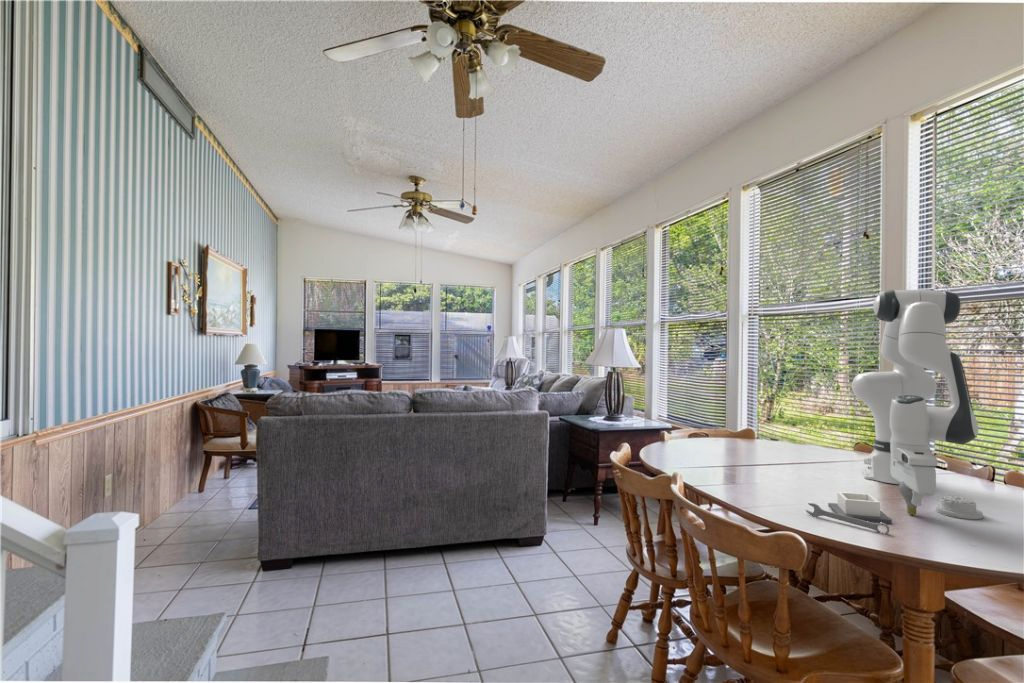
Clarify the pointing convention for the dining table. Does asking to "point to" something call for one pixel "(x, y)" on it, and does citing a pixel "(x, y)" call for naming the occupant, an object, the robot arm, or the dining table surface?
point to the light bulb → (907, 498)
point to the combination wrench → (845, 518)
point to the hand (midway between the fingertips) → (911, 502)
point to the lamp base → (859, 507)
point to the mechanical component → (958, 507)
